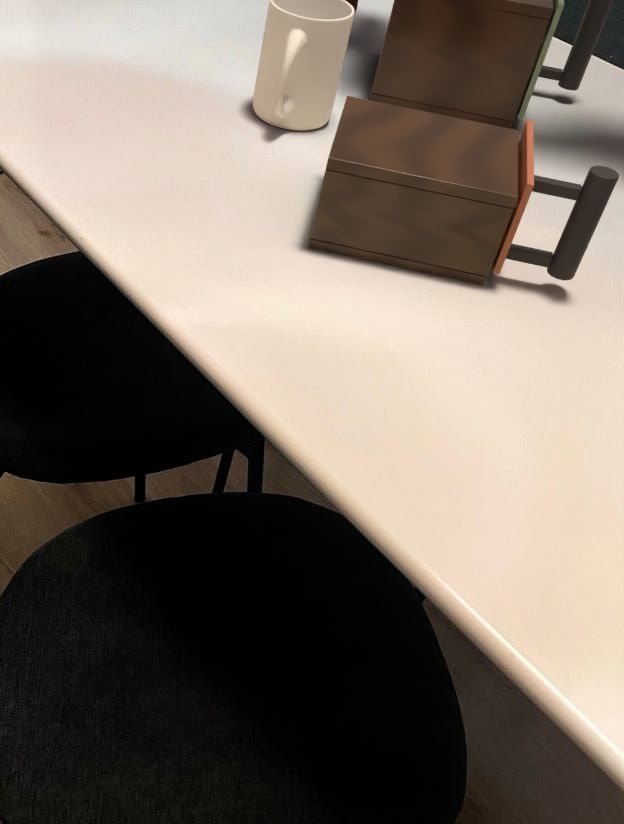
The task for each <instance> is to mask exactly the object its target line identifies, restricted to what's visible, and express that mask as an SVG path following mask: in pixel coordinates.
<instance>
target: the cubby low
mask: <svg viewBox="0 0 624 824" xmlns="http://www.w3.org/2000/svg"><path fill="white" fill-rule="evenodd" d="M519 131H520V130H518V129H514V128H511V129H510V128H505V127H500V126H495V125H490V124H485V123H480V122H475V121H470V120H465V119H460V118H455V117H450V116H445V115H440V114H435V113H431V112H426V111H421V110H416V109H411V108H406V107H401V106H396V105H391V104H386V103H381V102H376V101H371V100H369V99H366V98H360V97H356V96H351V95H346V99H345V101H344V104H343V108H342V111H341V115H340V118H339V120H338V124H337V128H336V131H335V134H334V137H333V141H332V143H331V147H330V150H329V151H330V152H329V154H328V158H327V161H326V166H325V169H324V175H323V178H322V183H321V188H320V192H319V196H318V201H317V204H316V209H315V213H314V218H313V223H312V227H311V231H310V235H309V239H308V244H307V247H308V248H313V249H317V250H321V251H325V252H331V253H336V254H340V255H343V256H344V255H345V256H349V257H353V258H359V259H363V260H368V261H372V262H376V263H382V264H387V265H390V266H395V267H400V268H405V269H410V270H412V271H413V270H414V271H418V272H424V273H429V274H432V275H437V276H441V277H446V278H450V279H456V280H459V281H464V282H470V283H474V284H478V285H482V286H485V285H486V283H487V281H488V277H489V275H490V272H491V269H492V268H493V262H494V259H495V257H496V254H497V251H498V249H499V246H500V244H501V241H502V238H503V236H504V233H505V231H506V228H507V225H508V223H509V220H510V218H511V215H512V212H513V210H514V207H515V204H516V202H517V199H518V152H519V140H520V132H519Z"/></svg>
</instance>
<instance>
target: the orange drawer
mask: <svg viewBox="0 0 624 824" xmlns="http://www.w3.org/2000/svg"><path fill="white" fill-rule="evenodd" d="M534 145H535V143H534V120H532V119H526V121H525V123H524V125H523V129H522V131H521V135H520V136H519V152H518V199H517V202H516V204H515V207H514V210H513V212H512V215H511V218H510V220H509V223H508V225H507V228H506V231H505V233H504V236H503V238H502V241H501V244H500V246H499V249H498V251H497V254H496V257H495V259H494V262H493V265H492V273H493V274H495V275H500V274H501V272H502V269H503V266H504V265H505V262H506V260H511V261H515V262H519V263H523V264H530V265H533V266H538V267H542V268H546V273H547V274H548V275H549V276H550V277H552V278H554V279H557V280H559V281H570V280H571V281H572V280H573V279H574V277H575V275H576V274H577V271H578V269H579V267H580V264H581V262H582V260H583V259H584V258H583V257H584V256H585V254H586V251H587V249H588V246H589V245H590V243H591V240H592V238H593V236H594V233H595V231H596V229H597V227H598V225H599V223H600V220H601V218H602V216H603V214H604V211H605V209H606V206H607V205H608V202H609V201H610V198H611V197H612V193H613V191H614V189H615V187H616V185H617V182H618V180H619V178H620V173H619V172H618V171H616V170H615V169H613V168H611V167H609V166H605V165H592V166H591V167H590V168H589V169H588V172H587V174H586V176H585V178H584V181H583V183H582V184H581V183H575V182H571V181H565V180H561V179H557V178H556V179H554V178H551V177H546V176H541V175H536V174H535V155H534V154H535V152H534V151H535V150H534V149H535V148H534V147H535V146H534ZM532 192H533V193H538V194H542V195H548V196H552V197H556V198H560V199H561V198H562V199H565V200H571V201H575V202H574V204H573V207H572V209H571V211H570V214H569V216H568V218H567V221H566V223H565V226H564V228H563V230H562V233H561V234H560V237H559V239H558V242H557V244H556V247H555V249H554V252H553V251H549V250H545V249H540V248H535V247H530V246H527V245H521V244H517V243H513V240H514V238H515V236H516V233H517V231H518V228H519V226H520V223H521V220H522V218H523V215H524V214H525V213H524V212H525V211H526V208H527V206H528V202H529V200H530V198H531V194H532Z"/></svg>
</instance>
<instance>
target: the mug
mask: <svg viewBox="0 0 624 824" xmlns="http://www.w3.org/2000/svg"><path fill="white" fill-rule="evenodd" d="M354 13H355V11H354V8H353V6H352V5H351V4H350V3H348V2H347V1H345V0H269V1H268V7H267V13H266V18H265V23H264V24H265V25H264V30H263V35H262V44H261V48H260V55H259V61H258V66H257V72H256V78H255V84H254V91H253V96H252V109H253V111H254V113H255V115H256V116H257V117H258V118H259V119H261V120H262V121H263V122H265V123H267V124H269V125H270V126H274V127H276V128H280V129H285V130H290V131H298V132H299V131H313V130H317V129H320V128H322V127H323V126H325V125H326V124H327V123H328V122H329V120H330V118H331V116H332V113H333V110H334V105H335V101H336V96H337V93H338V87H339V83H340V79H341V75H342V69H343V66H344V62H345V58H346V57H345V56H346V52H347V48H348V44H349V40H350V35H351V30H352V27H353V21H354V18H355V15H354ZM355 14H356V13H355Z"/></svg>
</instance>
